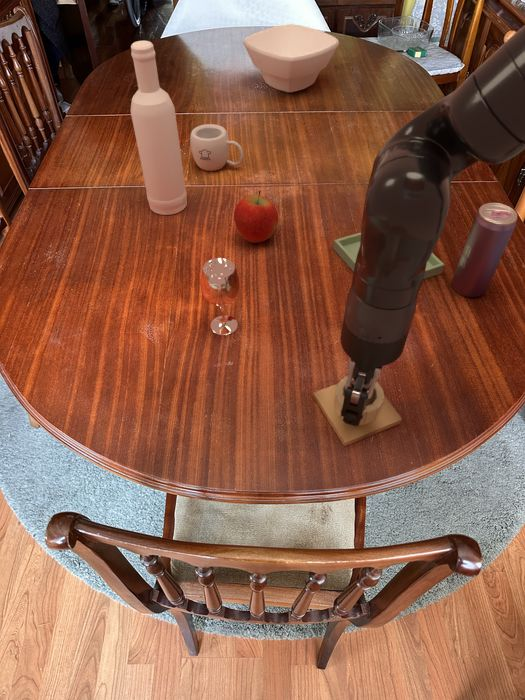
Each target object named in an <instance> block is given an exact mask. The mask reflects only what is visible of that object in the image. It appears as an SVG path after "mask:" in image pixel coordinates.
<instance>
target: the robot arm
mask: <svg viewBox="0 0 525 700" xmlns="http://www.w3.org/2000/svg"><path fill="white" fill-rule="evenodd" d="M524 151H525V24H524V25H523V26H522V27H520V28H519V29H518V30H517V31H516V32H514V34H513V35H512V36H510V37H509V38H508V39H507V40H506V41H505V42H504V43H503V44H501V45H500V47H498V48H497V50H495V51H494V52H493V53H492V54H491V55H490V56H489V57H488V58H487V59H486V60H485V61H483V63H481V64H480V65H479V66H478V67H477V68H476V69H475V71H473V72H472V73H470V75H469V76H467V78H466V79H465V80H463V82H462V83H461V84H460V85H459V86H458V87H457V88H456V89H455V90H453V91H452V92H450V93H449V94H448V95H446V96H444V97H442V98H441V99H439V100H437V101H436V102H435V103H433V104H432V105H430V106H429V107H427V108H426V109H425V110H423V111H421V112H420V113H419V114H417V115H415V116H414V117H413V118H412V119H410V120H409V121H408V122H406V123H405V124H404V125H403V126H401V127H400V128H399V129H398V130H397V131H396V132H395V133H394V134H393V135H392V136H391V137H390V138H389V139H388V140H387V141H386V142H385V143H384V144H383V146H382V147H381V149H379V151H378V153H377V155H376V157H375V159H374V161H373V164H372V168H371V172H370V178H369V180H368V184H367V189H366V193H365V199H364V205H363V211H362V220H361V228H360V233H361V241H360V247H359V250H358V254H357V258H356V262H355V268H354V272H353V274H352V281H351V285H350V288H349V290H348V293H347V297H346V303H345V309H344V314H343V320H342V327H341V332H340V345H341V348H342V350H343V351H344V353H345V354H346V355H347V356H348V358H350V359H349V362H348V366H347V371H348V374H347V376H348V378H347V382H346V386H345V392H344V393H345V397H344V403H343V408H342V410H341V416H343V421H344V422H345V423H346V424H349V425H352V426H359V423H360V420H361V419H362V418H363V415H362V413H363V411H365V408H366V407H365V404H366V400H367V399H369V398H371V397H372V394H373V390H374V387H375V383H376V381H378V379H379V378H380V377H381V373H382V369H383V367H384V366H388V365H391V364H392V363H394V362H396V361H397V360H399V358H400V357H401V356H402V354H403V352H404V349H405V346H406V343H407V340H408V337H409V333H410V330H411V327H412V323H413V320H414V317H415V314H416V309H417V303H418V296H419V292H420V289H421V286H422V283H423V280H424V279H423V277H424V274H425V270H426V264H427V261H428V260H429V258H430V256H431V254H432V253H433V252H434V250H435V249H436V246H437V244H438V242H439V239H440V237H441V235H442V232H443V230H444V226H445V224H446V220H447V216H448V213H449V209H450V203H451V190H452V189H451V187H452V181H453V180H454V179H455V178H456V177H457V176H459V175H460V174H461V173H463V172H464V171H466V170H467V169H469V168H470V167H473V166H474V165H476V164H477V163H478V162H481V163H483V164H485V165H492V166H493V165H494V166H495V165H500V164H503V163H505V162H508V161H510V160H511V159H513V158H514V157H516V156H517V155H519V154H520V153H522V152H524ZM352 378H353V379H354V381H355V382H356V383H355V385H353V384H352ZM371 379H372V381H371ZM370 382H371V385H370V387H369V388H363V385H368V384H369V383H370Z"/></svg>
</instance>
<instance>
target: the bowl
mask: <svg viewBox="0 0 525 700" xmlns="http://www.w3.org/2000/svg"><path fill="white" fill-rule="evenodd" d="M242 42H243V46H244V48H245V50H246V53H247V55H248V56H249V58H250V60H251V62H252V65H253V66H254V67H255V68H256V69H258V70H259V72H260V74H261V76H262V78H263V81H264V82H265V84H267V85H268V86H270V87H271V88H273V89H275V90H279V91H282V92H285V93H295V92H298V91H301V90H305V89H308V87H310V86H312V85H313V84H314V83H315V82H316V80H317V78H318V77H319V74H320V72H321V71H322V70H324V69H325V68H326V67H327V66H329V63H330V61H331V60H332V58H333V56H334V54H335V52H336V51H337V49H338V47H339V45H340V42H339V39H338V38H337V37H335V36H334V35H331V34H330V33H327V32H324V31H322V30H320V29H316V28H312V27H308V26H304V25H301V24H294V23H289V24H288V23H287V24H281V25H277V26H273V27H269V28H265V29H262V30H259V31H257V32H254V33H253V34H250V35H248V36H247V37H245V38H244V39H243V41H242Z"/></svg>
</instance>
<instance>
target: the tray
mask: <svg viewBox="0 0 525 700" xmlns="http://www.w3.org/2000/svg"><path fill="white" fill-rule="evenodd" d="M360 241H361V232H358V233H353V234H350V235H347V236H343V237H340V238H337V239H334V241H333V250H334V251H335V253H336V254H337V255H338V256H339V257H340V258H341V259H342V261H343V262H344V263H345V264H346V265H347V266H348V268H349V269H350V270H351V271H352V272H353V273H354V268H355V262H356V258H357V254H358V250H359V247H360ZM444 268H445V262H442V260H440V258H438V257H437V256H436V255H435V254H434V253H433V252H432V254H431V256H430V258H429V260H428V261H427V264H426V270H425V274H424V277H423V280H426V279H428V278H431V277H434V276H438V275H441V274H443V271H444Z"/></svg>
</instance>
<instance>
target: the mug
mask: <svg viewBox="0 0 525 700" xmlns="http://www.w3.org/2000/svg"><path fill="white" fill-rule="evenodd" d="M189 142H190V151H191V155H192V157H193V160H194V162H195V164H196V165H197V166H198V168H200V169H201V170H203V171H207V172H215V171H219V170H221V169H222V168H224V167H225V165H226V164H228V165H230V166H233V167H237V166H240V165H241V164H243V161H244V150H243V148H242V146H241V144H240V143H238V141H235V140H230V139H229V134H228V131H227V130H226V128H225V127H223V126H221V125H220V124H214V123H213V124H212V123H206V124H200V125H198V126H196V127H194V128H193V129H192V130H191V133H190V138H189ZM230 145H234V146H235V147H236V148H237V149H238V151H239V160H238V161H237V162H234V161H231V160H230V159H229V153H230Z"/></svg>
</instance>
